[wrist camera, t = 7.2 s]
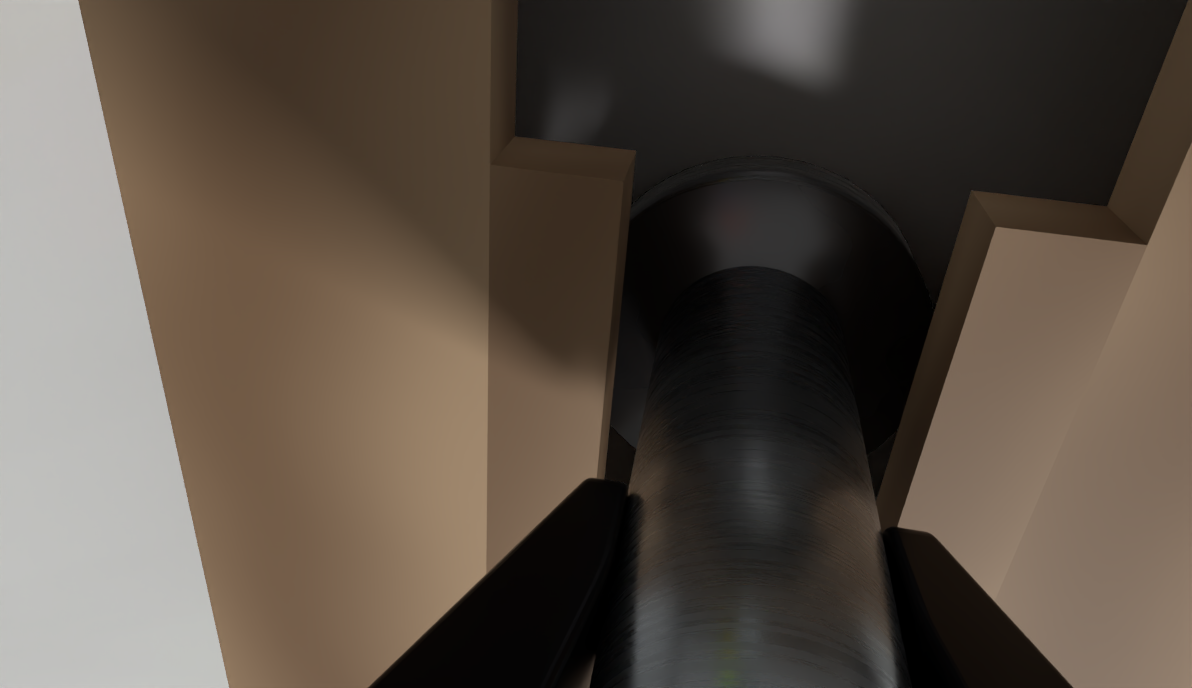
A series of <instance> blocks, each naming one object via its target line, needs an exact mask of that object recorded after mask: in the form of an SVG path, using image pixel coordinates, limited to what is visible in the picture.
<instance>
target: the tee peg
mask: <svg viewBox="0 0 1192 688" xmlns="http://www.w3.org/2000/svg"><path fill="white" fill-rule="evenodd" d="M932 317H933V311H932V307H931V303H930V299H929V295H928V291H927V289H926V287H925V284H924V282H923V279H922V277H921V274H920V272H919V270H918V267H917V265H916V262H915V260H914V258H913V255H912V253H911V250H910V248H909V246H908V243H907V241H906V239H905V238H904V236H903V234H902V233H901V231H900V229H899V228H898V226H897V224H896V223H895V222H894V220H893V219H892V218H891V217H890V216H889V214H888V213H887V212H886V211H885V210H884V209H883V207H882V206H881V205H880V204H879V203H877V202H876V201H875V200H874V199H873V198H872V197H871V196H870V195H868V194H867V193H866V192H865V191H864V190H862V189H861V188H859V187H858V186H856V185H855V184H853V183H851V182H850V181H848V180H847V179H845V178H843V177H841V176H839V175H837V174H835V173H833V172H831V171H829V170H827V169H824V168H821V167H818V166H815V165H812V164H809V163H806V162H803V161H798V160H792V159H787V158H782V157H770V156H743V157H731V158H726V159H721V160H716V161H710V162H707V163H704V164H701V165H698V166H695V167H692V168H689V169H686V170H684V171H682V172H680V173H678V174H676V175H674V176H672V177H669V178H667V179H666V180H664V181H663V182H661V183H659V184H658V185H656V186H655V187H653V188H652V189H650V190H649V191H647V192H646V193H645V194H644V195H643V196H642V197H640V198H639V199H638V200H637V201H636V202H635V203H633V204H632V205H631V210H630V220H629V230H628V241H627V251H626V261H625V272H624V282H623V292H622V303H621V313H620V323H619V334H618V344H617V354H616V365H615V375H614V385H613V396H612V406H611V416H610V424H611V425H612V427H613V428H614V429H615V430H616V431H617V432H618V433H619V434H620V435H621V436H622V437H623V438H624V439H625V440H626V441H627V442H628V443H629V444H630V445H632V446H633V447H634V448H636V454H635V459H634V464H633V469H632V474H631V479H630V484H629V489H628V500H627V505H626V510H625V515H624V520H623V525H622V530H621V535H620V540H619V545H618V551H617V556H616V561H615V566H614V571H613V576H612V581H611V586H610V591H609V596H608V600H607V605H606V609H605V614H604V617H603V622H602V627H601V631H600V636H599V641H598V646H597V651H596V656H595V661H594V666H593V671H592V677H591V682H590V687H589V688H912V684H911V679H910V674H909V669H908V664H907V659H906V654H905V649H904V643H903V638H902V633H901V628H900V623H899V618H898V613H897V608H896V603H895V597H894V592H893V587H892V582H891V577H890V572H889V567H888V562H887V557H886V552H885V546H884V541H883V536H882V531H881V526H880V521H879V516H878V511H877V506H876V501H875V495H874V490H873V485H872V480H871V475H870V470H869V465H868V460H867V455H868V454H869V453H870V452H872V451H873V450H874V449H876V448H877V447H878V446H880V445H881V444H882V443H883V442H884V441H885V440H886V439H887V438H888V437H889V436H890V435H891V434H892V433H893V432H895V431H896V430H897V428H898V427H899V425H900V422H901V419H902V415H903V412H904V409H905V405H906V402H907V399H908V396H909V392H910V389H911V386H912V383H913V379H914V376H915V373H916V370H917V366H918V363H919V360H920V357H921V353H922V350H923V347H924V343H925V340H926V337H927V334H928V330H929V327H930V324H931V321H932Z"/></svg>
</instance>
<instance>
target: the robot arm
mask: <svg viewBox="0 0 1192 688" xmlns="http://www.w3.org/2000/svg"><path fill="white" fill-rule="evenodd" d="M627 500H628V487H627V485H626V484H625V483H622V482H617V481H611V480H604V479H598V478H588V479H585V480H584V481H583V482H582V483H581V484H580V485H579V486H578V487H577V488H575V489H574V490H573V491H572V492H571V493H570V494H569V495H568V496H567V497H566V498H565V499H564V500H563V501H562V502H561V503H560V504H559V505H558V506H557V507H556V508H555V509H554V510H553V511H552V512H550V513H549V514H548V515H547V516H546V517H545V518H544V519H543V520H542V521H541V522H540V523H539V524H538V525H537V526H536V527H535V528H534V529H533V530H532V531H531V532H530V533H529V534H528V535H526V536H525V537H524V538H523V539H522V540H521V541H520V542H519V543H518V544H517V545H516V546H515V547H514V548H513V549H512V550H511V551H510V552H509V553H508V554H507V555H506V556H505V557H504V558H502V559H501V560H500V561H499V562H498V563H497V564H496V565H495V566H494V567H493V568H492V569H491V570H490V571H489V572H488V573H487V574H486V575H485V576H484V577H483V578H482V579H481V580H480V581H479V582H477V583H476V584H475V585H474V586H473V587H472V588H471V589H470V590H469V591H468V592H467V593H466V594H465V595H464V596H463V597H462V598H461V599H460V600H459V601H458V602H457V603H456V604H455V605H453V606H452V607H451V608H450V609H449V610H448V611H447V612H446V613H445V614H444V615H443V616H442V617H441V618H440V619H439V620H438V621H437V622H436V623H435V624H434V625H433V626H432V627H431V628H429V629H428V630H427V631H426V632H425V633H424V634H423V635H422V636H421V637H420V638H419V639H418V640H417V641H416V642H415V643H414V644H413V645H412V646H411V647H410V648H409V649H408V650H407V651H405V652H404V653H403V654H402V655H401V656H400V657H399V658H398V659H397V660H396V661H395V662H394V663H393V664H392V665H391V666H390V667H389V668H388V669H387V670H386V671H385V672H384V673H383V674H382V675H380V676H379V677H378V678H377V679H376V680H375V681H374V682H373V683H372V684H371V685H370V686H369V687H368V688H589V687H590V682H591V677H592V671H593V666H594V661H595V656H596V651H597V646H598V641H599V636H600V631H601V627H602V622H603V617H604V614H605V609H606V605H607V600H608V596H609V591H610V586H611V581H612V576H613V571H614V566H615V561H616V556H617V551H618V545H619V540H620V535H621V530H622V525H623V520H624V515H625V510H626V505H627ZM882 536H883V541H884V546H885V552H886V557H887V562H888V567H889V572H890V577H891V582H892V587H893V592H894V597H895V603H896V608H897V613H898V618H899V623H900V628H901V633H902V638H903V643H904V649H905V654H906V659H907V664H908V669H909V674H910V679H911V684H912V688H1073V686H1072V685H1071V684H1070V683H1069V682H1068V681H1067V680H1066V679H1065V678H1064V677H1063V676H1062V674H1061V673H1060V672H1059V671H1058V670H1057V669H1056V668H1055V667H1054V666H1053V665H1052V663H1051V662H1050V661H1049V660H1048V659H1047V658H1046V657H1045V656H1044V655H1043V654H1042V653H1041V651H1040V650H1039V649H1038V648H1037V647H1036V646H1035V645H1034V644H1033V643H1032V642H1031V641H1030V639H1029V638H1028V637H1027V636H1026V635H1025V634H1024V633H1023V632H1022V631H1021V630H1020V629H1019V627H1018V626H1017V625H1016V624H1015V623H1014V622H1013V621H1012V620H1011V619H1010V618H1009V617H1008V615H1007V614H1006V613H1005V612H1004V611H1003V610H1002V609H1001V608H1000V607H999V606H998V605H997V603H996V602H995V601H994V600H993V599H992V598H991V597H990V596H989V595H988V594H987V593H986V591H985V590H984V589H983V588H982V587H981V586H980V585H979V584H978V583H977V582H976V581H975V579H974V578H973V577H972V576H971V575H970V574H969V573H968V572H967V571H966V570H965V569H964V567H963V566H962V565H961V564H960V563H959V562H958V561H957V560H956V559H955V558H954V557H953V555H952V554H951V553H950V552H949V551H948V550H947V549H946V548H945V547H944V546H943V545H942V543H941V542H940V541H939V540H938V539H937V538H936V537H935V536H933V535H932V534H930V533H928V532H925V531H919V530H913V529H906V528H900V527H894V526H893V527H889V528H887V529H885V530H884V532H883V533H882Z"/></svg>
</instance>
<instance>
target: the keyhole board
mask: <svg viewBox="0 0 1192 688" xmlns="http://www.w3.org/2000/svg"><path fill="white" fill-rule="evenodd" d="M78 1H79V5H80V10H81V15H82V19H83V24H84V28H85V33H86V37H87V42H88V46H89V51H90V55H91V60H92V65H93V69H94V74H95V78H96V83H97V87H98V92H99V96H100V101H101V106H102V110H103V115H104V119H105V124H106V128H107V133H108V137H109V142H110V147H111V151H112V156H113V160H114V165H115V169H116V174H117V178H118V183H119V187H120V192H121V197H122V201H123V206H124V210H125V215H126V219H127V224H128V228H129V233H130V238H131V242H132V247H133V251H134V256H135V260H136V265H137V269H138V274H139V279H140V283H141V288H142V292H143V297H144V301H145V306H146V310H147V315H148V320H149V324H150V329H151V333H152V338H153V342H154V347H155V351H156V356H157V360H158V365H159V370H160V374H161V379H162V383H163V388H164V392H165V397H166V401H167V406H168V411H169V415H170V420H171V424H172V429H173V433H174V438H175V442H176V447H177V452H178V456H179V461H180V465H181V470H182V474H183V479H184V483H185V488H186V493H187V497H188V502H189V506H190V511H191V515H192V520H193V524H194V529H195V533H196V538H197V543H198V547H199V552H200V556H201V561H202V565H203V570H204V574H205V579H206V584H207V588H208V593H209V597H210V602H211V606H212V611H213V615H214V620H215V625H216V629H217V634H218V638H219V643H220V647H221V652H222V656H223V661H224V666H225V670H226V675H227V679H228V684H229V688H368V687H369V686H370V685H371V684H372V683H373V682H374V681H375V680H376V679H377V678H378V677H379V676H380V675H382V674H383V673H384V672H385V671H386V670H387V669H388V668H389V667H390V666H391V665H392V664H393V663H394V662H395V661H396V660H397V659H398V658H399V657H400V656H401V655H402V654H403V653H404V652H405V651H407V650H408V649H409V648H410V647H411V646H412V645H413V644H414V643H415V642H416V641H417V640H418V639H419V638H420V637H421V636H422V635H423V634H424V633H425V632H426V631H427V630H428V629H429V628H431V627H432V626H433V625H434V624H435V623H436V622H437V621H438V620H439V619H440V618H441V617H442V616H443V615H444V614H445V613H446V612H447V611H448V610H449V609H450V608H451V607H452V606H453V605H455V604H456V603H457V602H458V601H459V600H460V599H461V598H462V597H463V596H464V595H465V594H466V593H467V592H468V591H469V590H470V589H471V588H472V587H473V586H474V585H475V584H476V583H477V582H479V581H480V580H481V579H482V578H483V577H484V576H485V575H486V574H487V573H488V572H489V571H490V570H491V569H492V568H493V567H494V566H495V565H496V564H497V563H498V562H499V561H500V560H501V559H502V558H504V557H505V556H506V555H507V554H508V553H509V552H510V551H511V550H512V549H513V548H514V547H515V546H516V545H517V544H518V543H519V542H520V541H521V540H522V539H523V538H524V537H525V536H526V535H528V534H529V533H530V532H531V531H532V530H533V529H534V528H535V527H536V526H537V525H538V524H539V523H540V522H541V521H542V520H543V519H544V518H545V517H546V516H547V515H548V514H549V513H550V512H552V511H553V510H554V509H555V508H556V507H557V506H558V505H559V504H560V503H561V502H562V501H563V500H564V499H565V498H566V497H567V496H568V495H569V494H570V493H571V492H572V491H573V490H574V489H575V488H577V487H578V486H579V485H580V484H581V483H582V482H583V481H584V480H585V479H588V478H598V479H604V478H605V468H606V458H607V447H608V437H609V427H610V416H611V406H612V396H613V385H614V375H615V365H616V354H617V344H618V334H619V323H620V313H621V303H622V292H623V282H624V272H625V261H626V251H627V241H628V230H629V220H630V210H631V199H632V189H633V179H634V168H635V158H636V151H635V150H626V149H618V148H609V147H601V146H592V145H584V144H575V143H567V142H558V141H550V140H542V139H533V138H525V137H516V136H515V113H516V71H517V28H518V0H78ZM876 506H877V511H878V516H879V521H880V526H881V531H882V533H883V532H884V530H885V529H887V528H889V527H893V526H894V527H900V528H906V529H913V530H919V531H925V532H928V533H930V534H932V535H933V536H935V537H936V538H937V539H938V540H939V541H940V542H941V543H942V545H943V546H944V547H945V548H946V549H947V550H948V551H949V552H950V553H951V554H952V555H953V557H954V558H955V559H956V560H957V561H958V562H959V563H960V564H961V565H962V566H963V567H964V569H965V570H966V571H967V572H968V573H969V574H970V575H971V576H972V577H973V578H974V579H975V581H976V582H977V583H978V584H979V585H980V586H981V587H982V588H983V589H984V590H985V591H986V593H987V594H988V595H989V596H990V597H991V598H992V599H993V600H994V601H995V602H996V603H997V605H998V606H999V607H1000V608H1001V609H1002V610H1003V611H1004V612H1005V613H1006V614H1007V615H1008V617H1009V618H1010V619H1011V620H1012V621H1013V622H1014V623H1015V624H1016V625H1017V626H1018V627H1019V629H1020V630H1021V631H1022V632H1023V633H1024V634H1025V635H1026V636H1027V637H1028V638H1029V639H1030V641H1031V642H1032V643H1033V644H1034V645H1035V646H1036V647H1037V648H1038V649H1039V650H1040V651H1041V653H1042V654H1043V655H1044V656H1045V657H1046V658H1047V659H1048V660H1049V661H1050V662H1051V663H1052V665H1053V666H1054V667H1055V668H1056V669H1057V670H1058V671H1059V672H1060V673H1061V674H1062V676H1063V677H1064V678H1065V679H1066V680H1067V681H1068V682H1069V683H1070V684H1071V685H1072V686H1073V688H1192V0H1188V2H1187V4H1186V7H1185V10H1184V12H1183V15H1182V17H1181V20H1180V22H1179V25H1178V27H1177V30H1176V32H1175V35H1174V37H1173V40H1172V43H1171V45H1170V48H1169V50H1168V53H1167V55H1166V58H1165V60H1164V63H1163V65H1162V68H1161V70H1160V73H1159V76H1158V78H1157V81H1156V83H1155V86H1154V88H1153V91H1152V93H1151V96H1150V98H1149V101H1148V103H1147V106H1146V109H1145V111H1144V114H1143V116H1142V119H1141V121H1140V124H1139V126H1138V129H1137V131H1136V134H1135V136H1134V139H1133V142H1132V144H1131V147H1130V149H1129V152H1128V154H1127V157H1126V159H1125V162H1124V164H1123V167H1122V169H1121V172H1120V175H1119V177H1118V180H1117V182H1116V185H1115V187H1114V190H1113V192H1112V195H1111V197H1110V200H1109V202H1108V205H1107V206H1100V205H1091V204H1083V203H1074V202H1066V201H1057V200H1049V199H1041V198H1032V197H1024V196H1015V195H1007V194H998V193H990V192H981V191H973V190H971V193H970V197H969V200H968V203H967V206H966V210H965V213H964V216H963V219H962V223H961V226H960V229H959V232H958V236H957V239H956V242H955V246H954V249H953V252H952V255H951V259H950V262H949V265H948V268H947V272H946V275H945V278H944V281H943V285H942V288H941V291H940V294H939V298H938V301H937V304H936V308H935V311H934V314H933V317H932V321H931V324H930V327H929V330H928V334H927V337H926V340H925V343H924V347H923V350H922V353H921V357H920V360H919V363H918V366H917V370H916V373H915V376H914V379H913V383H912V386H911V389H910V392H909V396H908V399H907V402H906V405H905V409H904V412H903V415H902V419H901V422H900V425H899V428H898V432H897V435H896V438H895V441H894V445H893V448H892V451H891V454H890V458H889V461H888V464H887V468H886V471H885V474H884V477H883V481H882V484H881V487H880V490H879V494H878V497H877V500H876Z"/></svg>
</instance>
